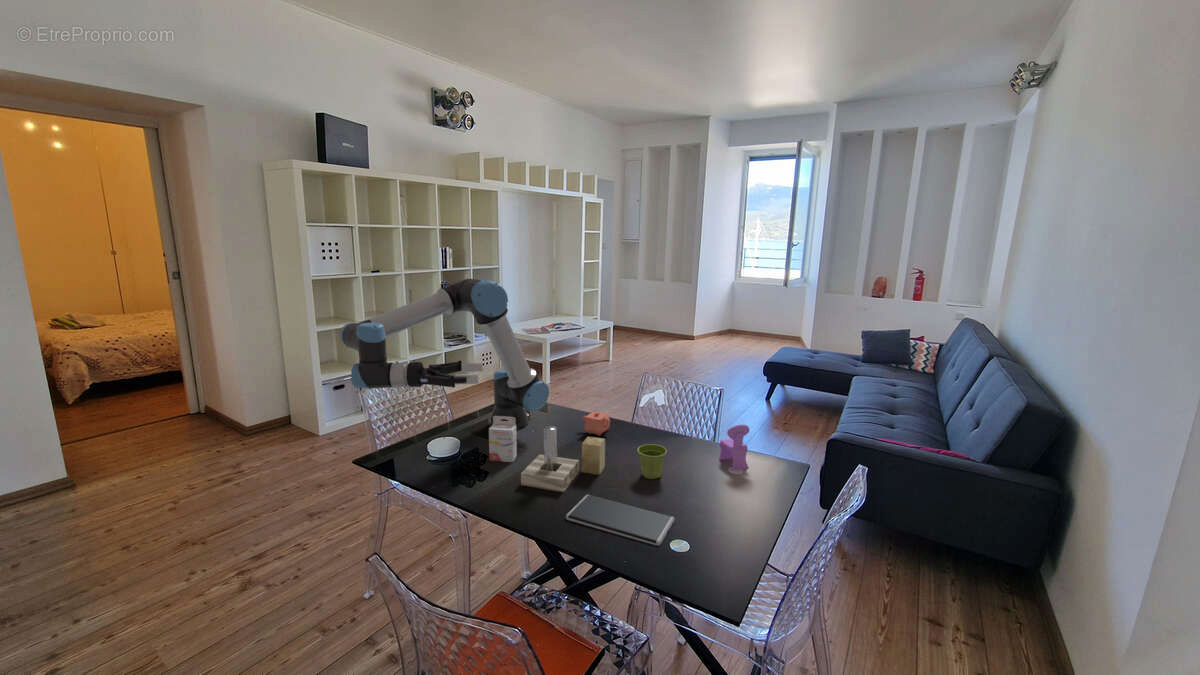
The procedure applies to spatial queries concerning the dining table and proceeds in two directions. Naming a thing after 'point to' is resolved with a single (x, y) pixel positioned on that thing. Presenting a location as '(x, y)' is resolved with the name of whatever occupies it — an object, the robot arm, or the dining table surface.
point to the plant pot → (651, 460)
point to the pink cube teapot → (596, 422)
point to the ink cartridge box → (503, 439)
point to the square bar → (593, 455)
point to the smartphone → (621, 519)
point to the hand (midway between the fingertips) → (480, 372)
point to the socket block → (550, 474)
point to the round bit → (550, 448)
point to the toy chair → (735, 447)
